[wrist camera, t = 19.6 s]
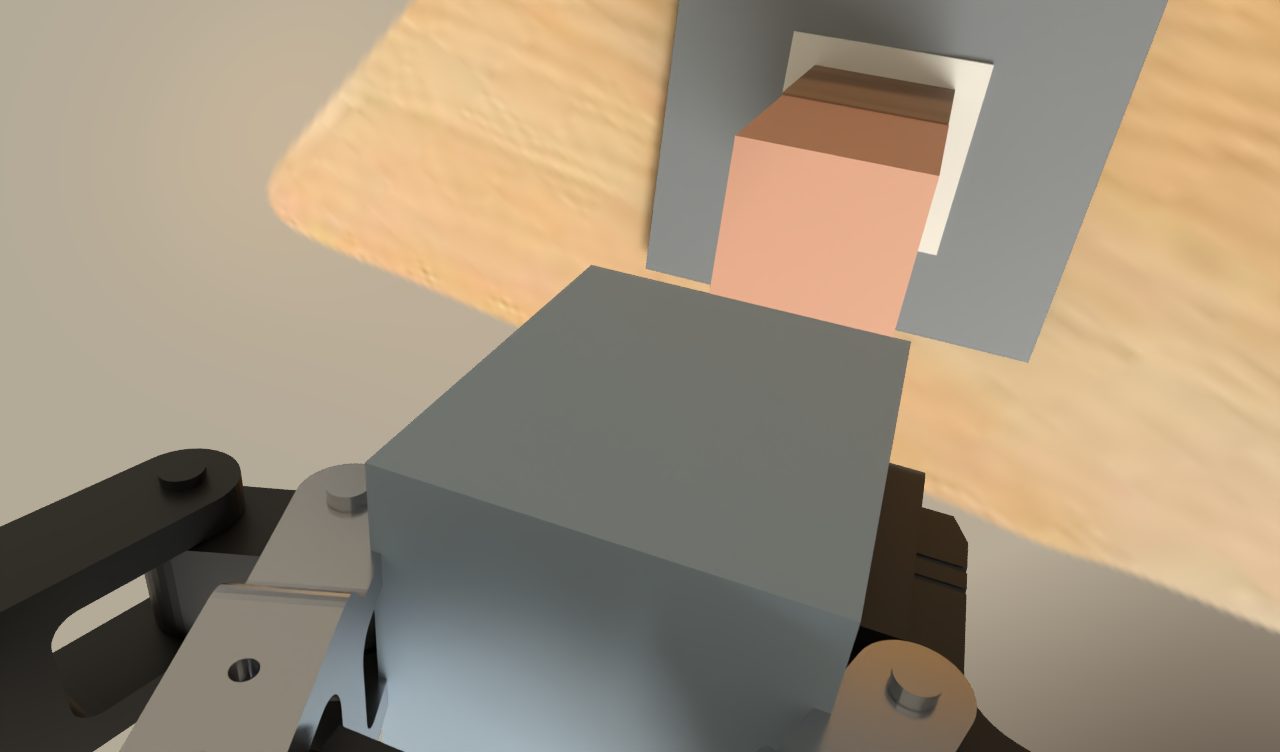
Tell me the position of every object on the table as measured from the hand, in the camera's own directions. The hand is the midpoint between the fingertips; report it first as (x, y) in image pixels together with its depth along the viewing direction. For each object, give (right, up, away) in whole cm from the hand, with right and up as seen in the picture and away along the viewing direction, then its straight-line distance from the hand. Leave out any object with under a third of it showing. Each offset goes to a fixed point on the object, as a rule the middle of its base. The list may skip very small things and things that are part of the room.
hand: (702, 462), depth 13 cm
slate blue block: (0, 0, +1) cm, 1 cm away
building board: (+8, +10, +20) cm, 24 cm away
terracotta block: (+6, +7, +14) cm, 16 cm away
